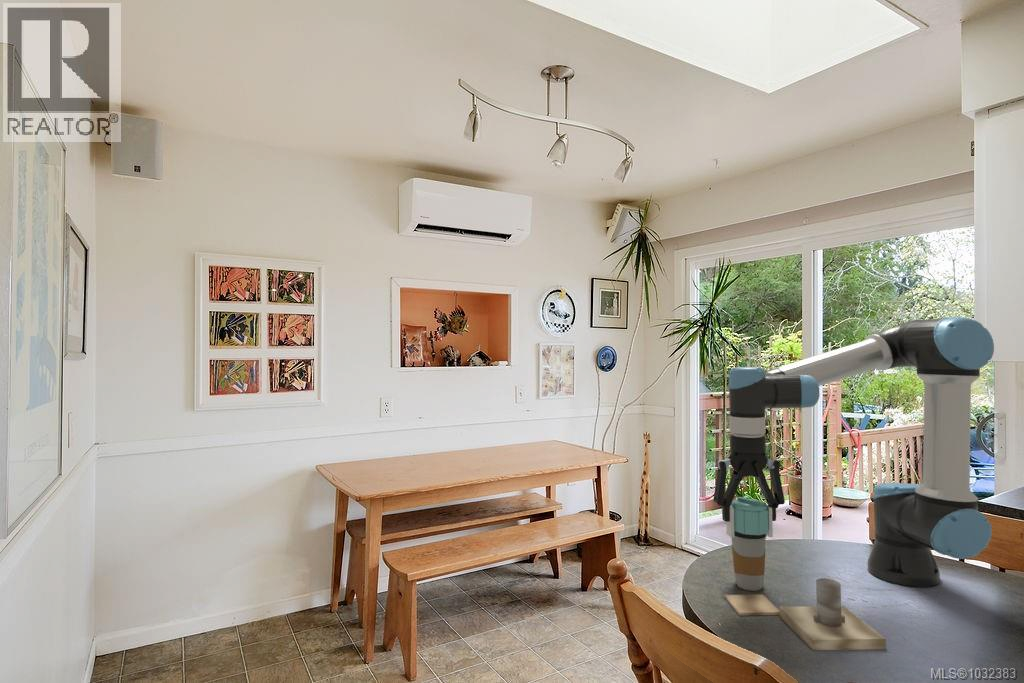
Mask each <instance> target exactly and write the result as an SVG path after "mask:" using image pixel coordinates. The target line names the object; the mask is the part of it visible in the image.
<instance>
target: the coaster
mask: <svg viewBox="0 0 1024 683" xmlns="http://www.w3.org/2000/svg"><path fill="white" fill-rule="evenodd" d="M724 599H725V600H726V601H727V602H728V604H729V605H730V606H731V608H732V609H733V610H734V611H735V612H736V613H737V614H738V616H780V615H779V608H777V607H776V606H775V605H774V604H773V602H771V601H770V600H769V599H768V598H767V597H766V596H765V595H764V594H724Z"/></svg>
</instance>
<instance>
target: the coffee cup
mask: <svg viewBox="0 0 1024 683" xmlns="http://www.w3.org/2000/svg"><path fill="white" fill-rule="evenodd" d="M766 537H767V535H766V534H762V535H748V534H742V533H739V532H736V531H734V537H730V538H731V549H732V550H731V551H732V562H733V563H732V564H733V572H734V580H735V583H736V585H737V587H738V588H740V589H742V590H746V591H760V590H762V588H763V586H764V582H765V578H764V577H765V570H766V569H765V566H766V565H765V564H766V540H767V538H766Z"/></svg>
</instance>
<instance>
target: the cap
mask: <svg viewBox="0 0 1024 683" xmlns="http://www.w3.org/2000/svg"><path fill="white" fill-rule="evenodd" d="M767 505H768V504H767V502H764V501H762V500H758V499H751V498H747V497H744V496H737V498H736V499H733V501H732V503H731V507H733V508H734V531H736V532H739V533H742V534H748V535H762V534H766V533H768V510H767Z"/></svg>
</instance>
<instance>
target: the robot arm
mask: <svg viewBox="0 0 1024 683" xmlns="http://www.w3.org/2000/svg"><path fill="white" fill-rule="evenodd" d="M994 351H995V343H994V339H993V337H992V335H991V332H990V331H989V330H988V328H986V327H985V326H983V324H982V323H981V322H979V321H977V320H975V319H972V318H969V317H958V316H957V317H956V316H950V317H938V318H929V319H915V320H910V321H905V322H902V323H900V324H896V325H894V326H891V327H889V328H885V329H882V330H880V331H877V332H874V333H871V334H868V335H866V336H865V337H864V340H862V341H858V342H855V343H852V344H848V345H846V346H843V347H839V348H836V349H833V350H830V351H826V352H823V353H820V354H817V355H813V356H810V357H807V358H804V359H800V360H797V361H793V362H791V363H787V364H784V365H780V366H777V367H775V368H771V369H767V370H764V368H763V367H761V366H737V367H732V368H731V369H730V370H729V374H728V376H729V377H728V398H729V432H730V434H731V435H730V436H729V452H730V454H729V457H728V459H719V458H718V459H716V462H715V463H716V466H717V472H716V473H717V474H716V481H715V485H714V486H715V487H714V494H713V502H714V503H715V504H717V505H718V506H721V512H722V513H721V514H722V516H721V517H722V520H723V521H724V522H726V524H725V525H726V534H727V535H728V537H730V538H731V537H734V508H733V507H731V505H732V501H733V500H734V498H735V495H736V493H737V491H738V489H739V486H740V484H741V482H742V481H743V479H744V478H745V477H746V478H747V477H753V478H755V480H756V482H757V484H758V486H759V488H760V490H761V492H762V494H763V497H764V499H765V501H766V502H765V503H766V504H767V510H768V533H766V535H767V536H768V537H769V538H773V537H774V533H773V531H774V530H773V529H774V528H773V527H774V526H773V524H774V523H773V522H776V520H777V509H778V508H779V506H780V505H784V504H786V502H785V501H786V500H785V496H784V489H783V485H782V480H781V475H780V468H781V462H780V461H779V460H777V459H774V458H768V457H767V455H766V452H767V446H766V444H767V443H766V440H767V439H766V437H765V436H764V435H765V434H766V409H800V410H801V409H803V408H804V409H805V408H812V407H814V406H816V405H817V403H818V402H819V401H820V387H821V386H824V385H827V384H830V383H834V382H837V381H841V380H845V379H846V378H849V377H853V376H857V375H860V374H864V373H866V372H870V371H872V370H878V371H887V370H889V369H894V368H903V367H904V368H905V367H906V368H907V367H913V368H914V367H916V376H917V377H918V378H919V379H920V380H922V381H923V384H924V385H923V386H924V388H923V389H924V391H923V392H924V394H923V399H924V400H923V445H922V446H923V448H922V450H923V453H922V454H923V458H922V461H923V462H922V465H923V466H922V483H921V484H919V483H905V482H904V483H903V482H886V483H885V482H884V483H879V484H877V485H875V486H874V489H873V497H872V500H873V517H874V518H873V519H874V520H873V523H874V542H873V545H872V548H871V551H870V553H869V557H868V559H867V571H868V572H869V573H870V574H871V575H873V576H875V577H876V578H879V579H881V580H883V581H887V582H890V583H893V584H897V585H903V586H908V587H920V588H926V587H927V588H928V587H935V586H937V585H939V584H940V583H941V574H940V569H939V567H938V565H937V562H936V559H935V558H934V554H933V552H932V550H933V551H934V552H936V553H938V554H940V555H944V556H948V557H951V558H954V559H958V560H959V559H960V560H966V559H971V558H975V557H976V556H978V555H979V554H980V553H981V552H982V551H984V550H985V549H986V548H987V547H988V546H989V544H990V542H991V538H992V533H993V532H992V531H993V529H992V525H991V523H990V520H989V519H987V517H986V515H985V514H983V513H982V512H981V511H979V505H978V504H979V498H978V497H977V495H975V494H974V493H973V492H972V491H971V490H970V487H971V486H970V484H971V483H970V479H971V478H970V477H971V476H970V474H971V473H970V472H971V471H970V470H971V466H970V465H971V417H972V416H971V406H972V405H971V401H972V394H971V393H972V385H973V383H974V382H975V381H977V380H978V379H979V378H980V377H981V376H980V375H981V371H980V370H981V369H982V368H983V367H984V366H986V365H988V363H989V361H991V360H992V358H993V355H994ZM729 466H731V467H732V469H733V470H732V472H731V474H730V475H731V477H730V479H729V482H728V485H727V487H726V482H727V474H728V471H727V470H729V468H730V467H729ZM766 466H767V468H768V470H769V471H768V472H769V476H770V482H771V488H772V490H771V488H770V486H769V483H768V482H767V478H766V476H765V473H764V471H763V470H764V468H765V467H766ZM725 488H726V489H725ZM767 536H766V537H767Z"/></svg>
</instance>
